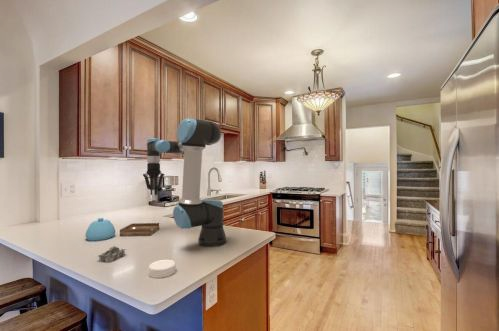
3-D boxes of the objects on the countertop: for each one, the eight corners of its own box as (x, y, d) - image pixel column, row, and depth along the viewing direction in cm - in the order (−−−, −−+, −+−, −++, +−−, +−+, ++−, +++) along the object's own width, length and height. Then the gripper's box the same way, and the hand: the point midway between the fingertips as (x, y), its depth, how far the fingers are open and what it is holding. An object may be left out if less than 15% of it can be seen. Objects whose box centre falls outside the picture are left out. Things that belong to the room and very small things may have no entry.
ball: (132, 234, 153) (136, 230, 153) (128, 230, 153) (132, 226, 153) (135, 232, 157) (139, 228, 157) (131, 229, 156) (135, 225, 157)
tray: (150, 235, 147) (150, 229, 147) (119, 236, 146) (119, 229, 147) (159, 229, 163) (159, 223, 163) (131, 229, 162) (131, 223, 163)
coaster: (163, 280, 89) (163, 270, 89) (142, 276, 93) (142, 266, 93) (181, 269, 99) (181, 260, 99) (161, 266, 102) (161, 257, 102)
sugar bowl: (120, 234, 151) (120, 215, 151) (103, 242, 136) (103, 221, 136) (98, 234, 152) (97, 215, 152) (78, 241, 137) (78, 220, 138)
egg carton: (115, 253, 118) (115, 245, 118) (128, 255, 116) (128, 246, 116) (95, 261, 108) (95, 252, 108) (108, 263, 106) (108, 254, 106)
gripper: (165, 162, 159) (166, 199, 159) (145, 163, 159) (145, 199, 159) (162, 162, 152) (162, 200, 152) (140, 162, 151) (141, 201, 151)
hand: (154, 200), depth 155 cm, fingers closed
